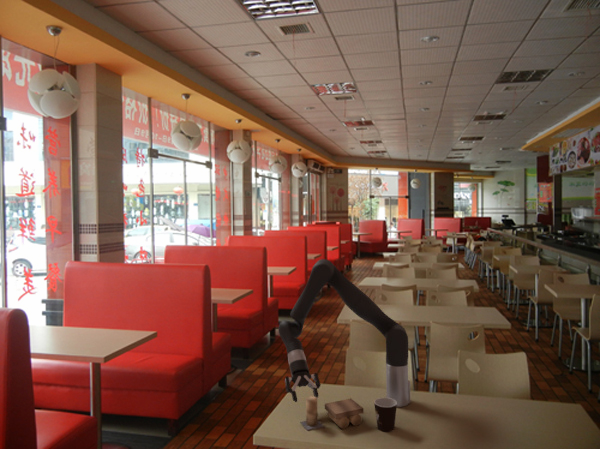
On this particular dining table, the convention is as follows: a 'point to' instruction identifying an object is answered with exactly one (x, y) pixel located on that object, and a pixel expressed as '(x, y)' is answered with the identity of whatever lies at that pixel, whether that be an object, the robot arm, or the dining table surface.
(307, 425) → the mat
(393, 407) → the coffee mug
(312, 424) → the roller
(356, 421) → the slab
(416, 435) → the dining table surface
